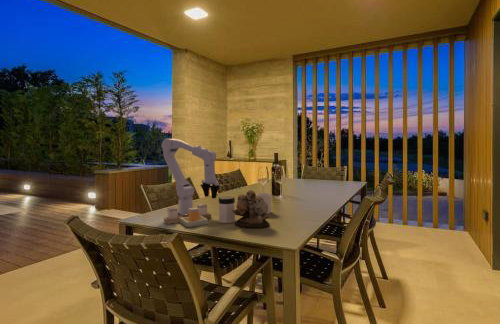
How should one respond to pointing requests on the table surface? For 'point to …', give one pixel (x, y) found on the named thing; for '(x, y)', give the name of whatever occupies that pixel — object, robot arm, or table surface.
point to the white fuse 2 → (202, 209)
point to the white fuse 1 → (172, 213)
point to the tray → (199, 222)
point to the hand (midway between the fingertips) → (210, 197)
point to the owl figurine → (251, 211)
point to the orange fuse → (193, 214)
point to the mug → (266, 200)
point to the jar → (226, 209)
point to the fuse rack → (182, 217)
